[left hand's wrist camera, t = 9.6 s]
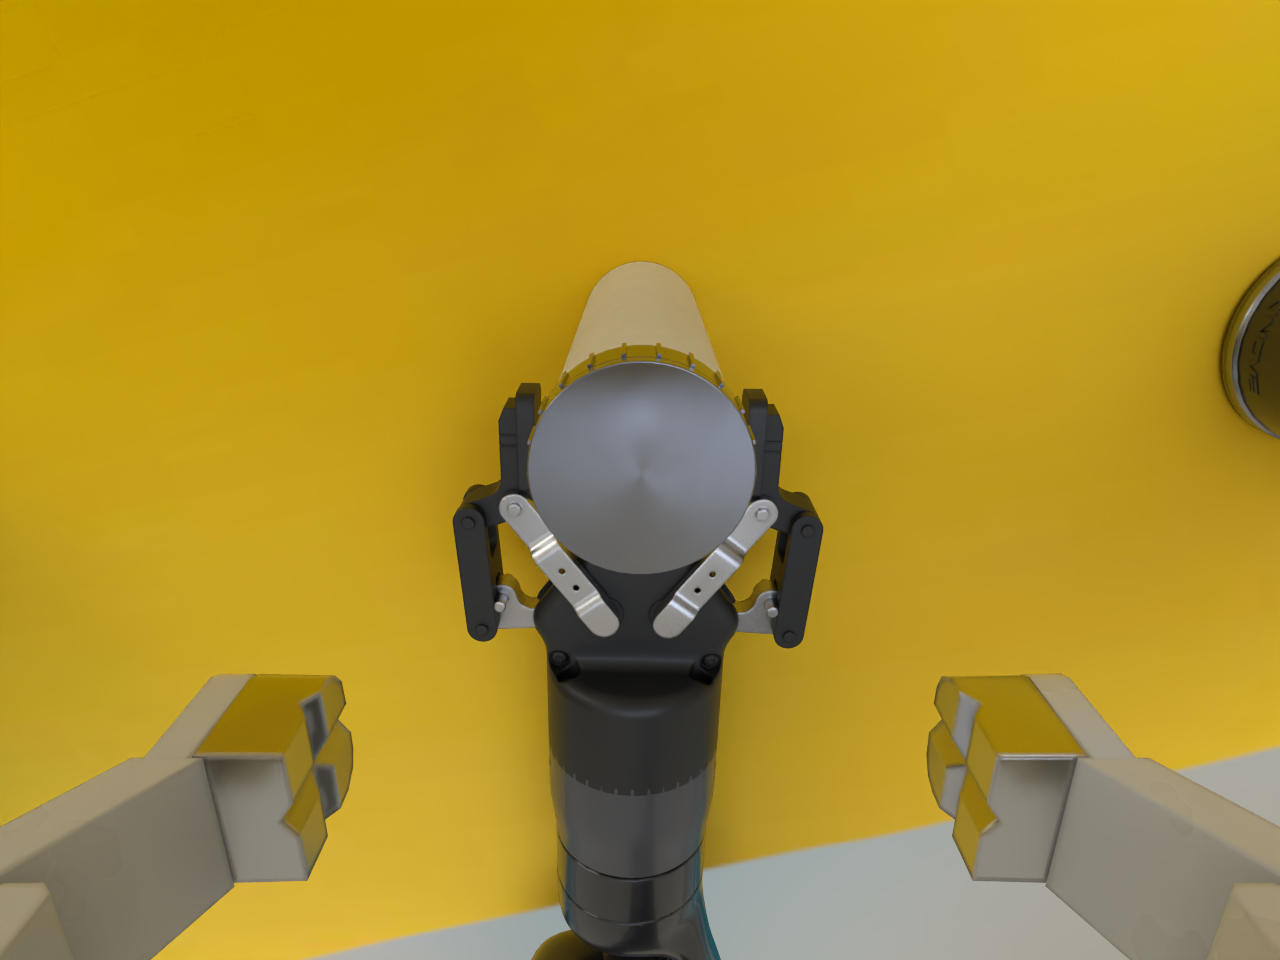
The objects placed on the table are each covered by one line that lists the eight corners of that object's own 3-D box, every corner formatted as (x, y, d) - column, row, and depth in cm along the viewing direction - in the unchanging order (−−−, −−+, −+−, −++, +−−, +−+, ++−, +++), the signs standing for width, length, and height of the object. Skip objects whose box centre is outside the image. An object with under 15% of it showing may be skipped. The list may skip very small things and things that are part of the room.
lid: (491, 400, 20) (479, 421, 18) (695, 301, 19) (700, 315, 17) (593, 577, 21) (590, 609, 20) (784, 495, 21) (795, 522, 19)
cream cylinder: (565, 292, 35) (496, 419, 19) (668, 241, 35) (694, 325, 18) (616, 391, 37) (595, 590, 20) (715, 345, 36) (780, 511, 19)
